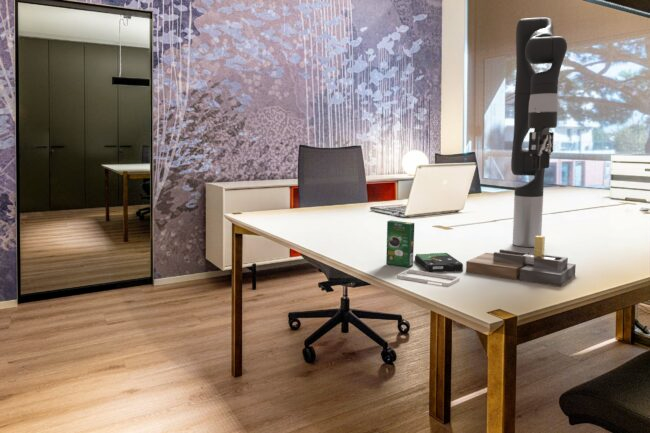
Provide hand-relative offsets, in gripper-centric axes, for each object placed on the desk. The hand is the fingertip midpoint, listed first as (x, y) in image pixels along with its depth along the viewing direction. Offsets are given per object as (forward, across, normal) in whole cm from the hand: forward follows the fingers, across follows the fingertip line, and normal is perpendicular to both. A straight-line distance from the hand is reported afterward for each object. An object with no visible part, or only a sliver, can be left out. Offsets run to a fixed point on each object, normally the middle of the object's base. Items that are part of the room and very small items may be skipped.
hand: (540, 169), depth 150 cm
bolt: (+25, +12, +4) cm, 28 cm away
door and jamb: (+28, +12, 0) cm, 31 cm away
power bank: (+29, +32, -18) cm, 47 cm away
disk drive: (+29, +17, -23) cm, 41 cm away
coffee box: (+28, +23, -32) cm, 49 cm away
